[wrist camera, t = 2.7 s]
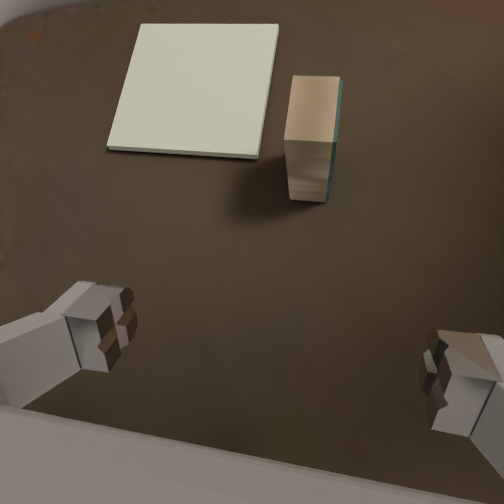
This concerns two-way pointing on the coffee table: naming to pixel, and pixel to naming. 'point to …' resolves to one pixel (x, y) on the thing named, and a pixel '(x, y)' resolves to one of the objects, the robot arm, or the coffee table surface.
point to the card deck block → (312, 136)
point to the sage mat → (196, 90)
